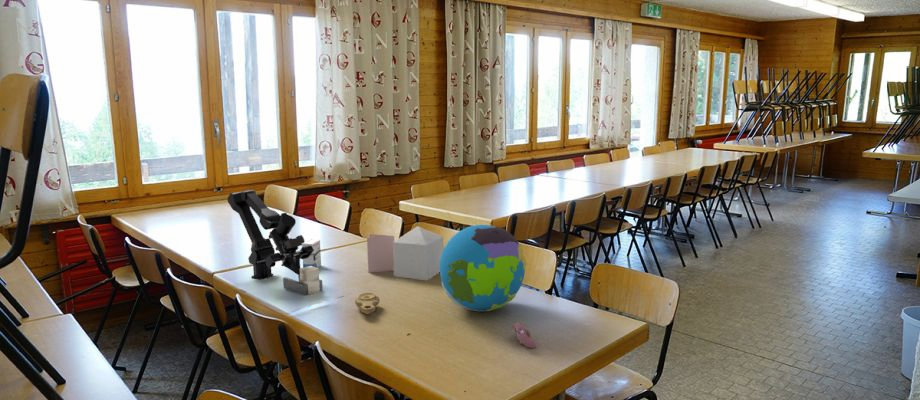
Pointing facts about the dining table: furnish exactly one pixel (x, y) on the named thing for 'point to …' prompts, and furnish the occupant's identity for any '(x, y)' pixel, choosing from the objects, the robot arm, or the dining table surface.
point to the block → (310, 279)
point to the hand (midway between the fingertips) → (299, 274)
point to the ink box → (313, 254)
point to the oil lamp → (367, 302)
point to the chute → (297, 285)
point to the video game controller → (523, 335)
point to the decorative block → (417, 254)
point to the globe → (482, 267)
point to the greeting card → (380, 253)
